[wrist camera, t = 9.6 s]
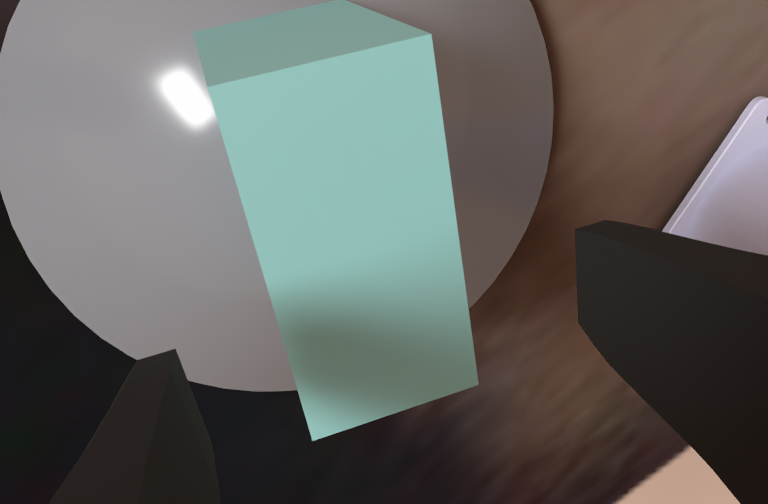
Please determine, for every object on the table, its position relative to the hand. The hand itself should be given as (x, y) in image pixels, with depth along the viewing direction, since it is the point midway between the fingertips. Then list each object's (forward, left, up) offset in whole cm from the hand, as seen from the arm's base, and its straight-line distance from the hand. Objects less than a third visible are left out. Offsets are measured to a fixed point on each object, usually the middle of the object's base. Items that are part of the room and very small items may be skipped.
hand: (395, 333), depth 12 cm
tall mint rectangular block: (0, 0, -9) cm, 9 cm away
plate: (0, 0, -10) cm, 10 cm away
